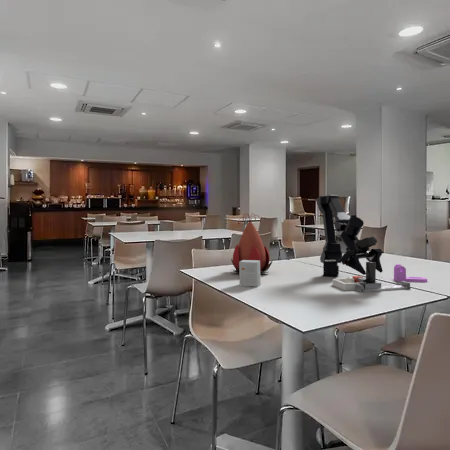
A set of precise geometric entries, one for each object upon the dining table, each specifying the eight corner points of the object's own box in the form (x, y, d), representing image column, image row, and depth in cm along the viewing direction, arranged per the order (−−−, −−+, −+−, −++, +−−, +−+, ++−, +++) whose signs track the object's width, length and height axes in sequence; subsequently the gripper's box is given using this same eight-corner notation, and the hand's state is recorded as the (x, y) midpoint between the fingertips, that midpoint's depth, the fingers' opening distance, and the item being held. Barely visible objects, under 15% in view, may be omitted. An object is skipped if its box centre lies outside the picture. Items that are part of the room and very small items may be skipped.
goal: (347, 284, 160) (347, 278, 160) (361, 289, 150) (361, 283, 150) (332, 285, 159) (332, 279, 159) (344, 290, 149) (344, 284, 149)
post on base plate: (365, 284, 158) (365, 258, 157) (381, 289, 148) (381, 262, 147) (350, 285, 157) (350, 259, 156) (365, 291, 146) (365, 263, 145)
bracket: (396, 281, 165) (396, 265, 165) (393, 279, 171) (394, 263, 170) (428, 282, 162) (429, 266, 162) (424, 280, 168) (425, 264, 167)
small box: (260, 284, 161) (260, 260, 161) (257, 287, 156) (257, 262, 155) (242, 283, 164) (242, 259, 163) (239, 286, 158) (238, 261, 158)
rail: (404, 286, 154) (404, 281, 154) (410, 288, 150) (410, 282, 150) (355, 290, 149) (355, 284, 149) (360, 292, 146) (360, 285, 146)
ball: (357, 280, 155) (354, 289, 155) (349, 276, 158) (345, 285, 158) (354, 278, 152) (350, 287, 152) (345, 274, 155) (341, 283, 155)
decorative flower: (239, 268, 204) (238, 212, 202) (279, 270, 194) (279, 212, 192) (221, 275, 184) (220, 213, 183) (265, 278, 174) (265, 214, 173)
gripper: (346, 230, 146) (368, 262, 137) (379, 228, 155) (402, 258, 146) (331, 248, 154) (351, 280, 145) (364, 245, 162) (385, 275, 153)
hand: (373, 273), depth 147 cm, fingers open, 9 cm apart
